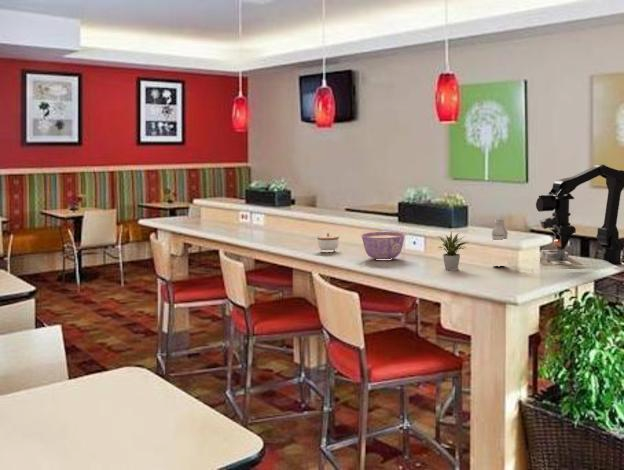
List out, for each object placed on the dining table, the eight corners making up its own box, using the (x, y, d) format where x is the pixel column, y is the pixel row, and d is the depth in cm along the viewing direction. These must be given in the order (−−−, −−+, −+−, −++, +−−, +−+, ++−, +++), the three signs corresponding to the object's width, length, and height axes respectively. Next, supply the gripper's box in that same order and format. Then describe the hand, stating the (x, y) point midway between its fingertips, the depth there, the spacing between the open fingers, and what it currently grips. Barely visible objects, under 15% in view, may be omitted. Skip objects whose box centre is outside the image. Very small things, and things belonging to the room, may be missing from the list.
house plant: (441, 273, 285) (441, 234, 283) (426, 268, 298) (426, 230, 296) (472, 271, 289) (472, 232, 287) (457, 265, 302) (457, 228, 300)
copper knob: (552, 258, 295) (552, 238, 294) (565, 258, 295) (565, 238, 293) (555, 261, 289) (556, 240, 288) (569, 260, 289) (570, 240, 288)
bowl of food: (404, 263, 311) (404, 237, 310) (359, 263, 314) (359, 237, 313) (405, 255, 331) (405, 231, 329) (363, 255, 334) (363, 231, 332)
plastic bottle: (495, 265, 300) (495, 219, 298) (509, 266, 296) (510, 219, 293) (488, 267, 296) (488, 220, 293) (503, 269, 291) (503, 221, 289)
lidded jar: (329, 249, 356) (328, 231, 355) (343, 251, 348) (343, 233, 347) (313, 252, 349) (312, 233, 348) (327, 254, 341) (327, 235, 340)
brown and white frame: (569, 260, 306) (570, 249, 305) (583, 268, 288) (583, 256, 287) (532, 261, 307) (532, 250, 306) (543, 268, 289) (543, 257, 288)
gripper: (536, 208, 299) (535, 244, 301) (548, 213, 280) (547, 251, 282) (562, 208, 298) (561, 244, 300) (576, 212, 280) (575, 251, 282)
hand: (561, 247), depth 291 cm, fingers closed on copper knob, 6 cm apart
